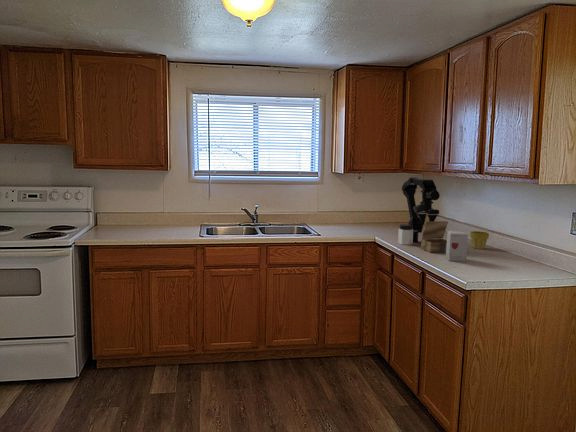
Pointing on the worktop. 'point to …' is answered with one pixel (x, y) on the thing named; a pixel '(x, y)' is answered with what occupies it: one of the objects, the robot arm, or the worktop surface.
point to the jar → (405, 234)
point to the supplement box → (456, 246)
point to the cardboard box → (434, 245)
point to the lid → (434, 230)
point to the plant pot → (479, 239)
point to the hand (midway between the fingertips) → (426, 225)
